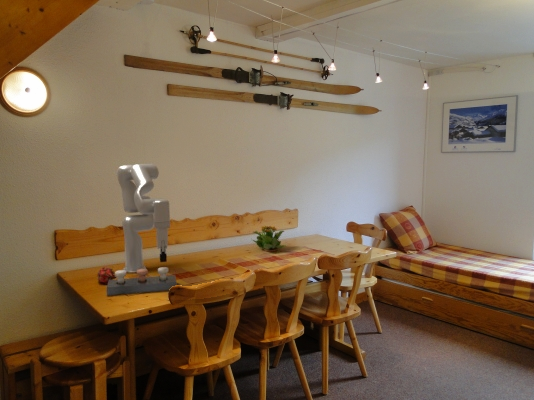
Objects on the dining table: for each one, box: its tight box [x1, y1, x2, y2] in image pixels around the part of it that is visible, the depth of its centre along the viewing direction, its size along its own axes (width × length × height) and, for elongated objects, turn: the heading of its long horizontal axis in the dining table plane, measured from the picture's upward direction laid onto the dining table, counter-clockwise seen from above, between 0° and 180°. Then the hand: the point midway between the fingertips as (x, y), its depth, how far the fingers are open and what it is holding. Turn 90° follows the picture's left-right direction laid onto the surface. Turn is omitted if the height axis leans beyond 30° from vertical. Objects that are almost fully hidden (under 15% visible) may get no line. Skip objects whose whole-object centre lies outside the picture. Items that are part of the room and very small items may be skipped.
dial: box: [136, 268, 149, 282], centre depth 203 cm, size 5×5×6 cm
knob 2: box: [157, 266, 169, 281], centre depth 205 cm, size 5×5×6 cm
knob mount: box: [106, 274, 177, 297], centre depth 203 cm, size 12×32×4 cm, turn 106°
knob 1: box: [114, 269, 127, 284], centre depth 200 cm, size 5×5×6 cm
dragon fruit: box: [96, 266, 117, 285], centre depth 213 cm, size 8×8×12 cm
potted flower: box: [252, 225, 287, 253], centre depth 284 cm, size 25×24×18 cm
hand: (163, 261), depth 204 cm, fingers closed
